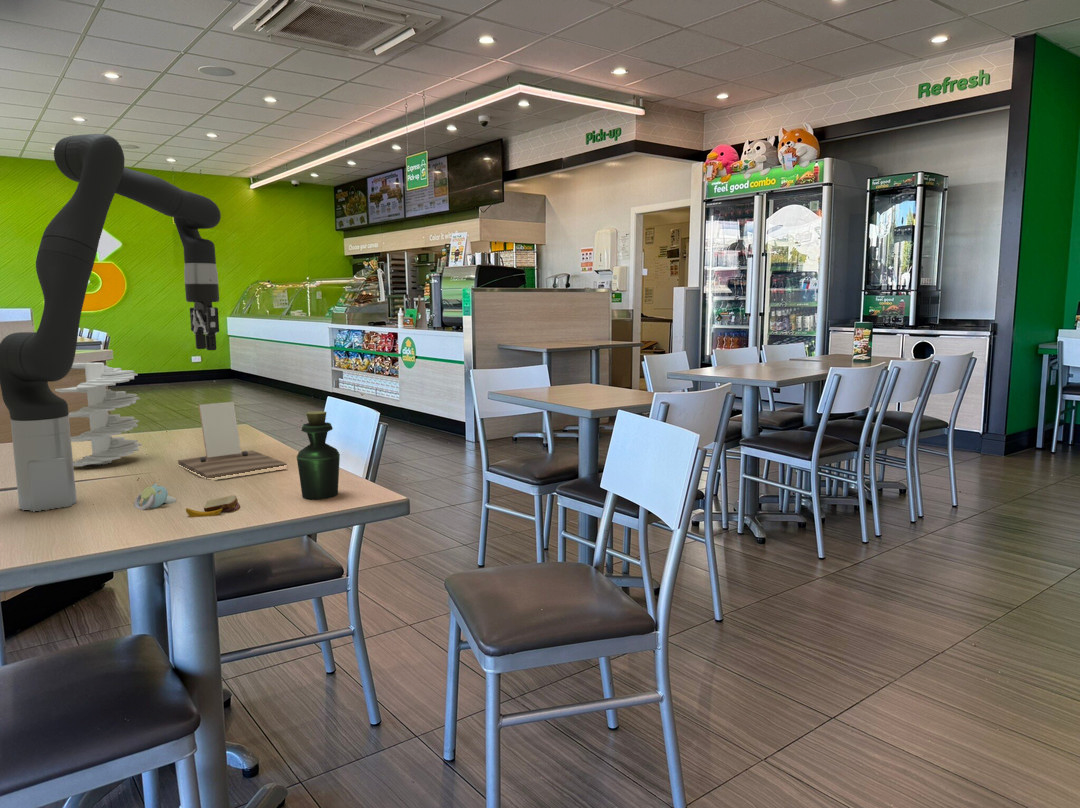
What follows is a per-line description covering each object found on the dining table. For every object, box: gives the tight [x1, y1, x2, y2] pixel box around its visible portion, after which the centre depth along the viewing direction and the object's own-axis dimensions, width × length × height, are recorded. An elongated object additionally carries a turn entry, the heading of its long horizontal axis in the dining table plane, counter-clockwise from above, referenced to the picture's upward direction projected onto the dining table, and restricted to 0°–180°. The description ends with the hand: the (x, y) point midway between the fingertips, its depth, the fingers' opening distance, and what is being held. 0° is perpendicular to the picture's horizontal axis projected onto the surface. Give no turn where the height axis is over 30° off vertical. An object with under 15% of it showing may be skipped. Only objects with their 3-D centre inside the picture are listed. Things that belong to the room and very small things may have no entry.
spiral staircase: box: [54, 361, 142, 467], centre depth 182 cm, size 18×18×25 cm
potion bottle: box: [296, 410, 341, 501], centre depth 145 cm, size 8×8×18 cm
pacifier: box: [133, 483, 177, 511], centre depth 141 cm, size 7×6×6 cm
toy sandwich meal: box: [185, 494, 241, 518], centre depth 136 cm, size 9×10×4 cm
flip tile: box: [198, 401, 242, 458], centre depth 181 cm, size 13×8×1 cm
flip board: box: [177, 450, 288, 478], centre depth 177 cm, size 22×18×3 cm
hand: (206, 349), depth 183 cm, fingers open, 7 cm apart
